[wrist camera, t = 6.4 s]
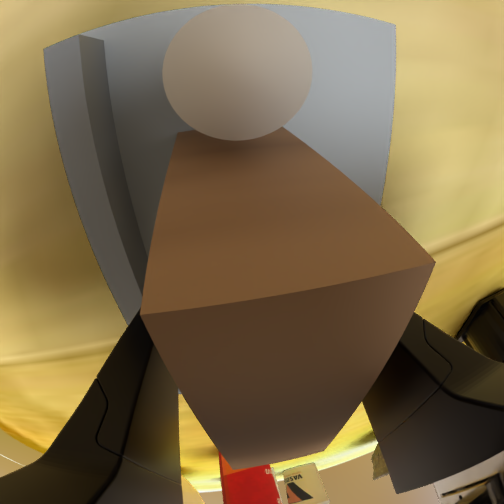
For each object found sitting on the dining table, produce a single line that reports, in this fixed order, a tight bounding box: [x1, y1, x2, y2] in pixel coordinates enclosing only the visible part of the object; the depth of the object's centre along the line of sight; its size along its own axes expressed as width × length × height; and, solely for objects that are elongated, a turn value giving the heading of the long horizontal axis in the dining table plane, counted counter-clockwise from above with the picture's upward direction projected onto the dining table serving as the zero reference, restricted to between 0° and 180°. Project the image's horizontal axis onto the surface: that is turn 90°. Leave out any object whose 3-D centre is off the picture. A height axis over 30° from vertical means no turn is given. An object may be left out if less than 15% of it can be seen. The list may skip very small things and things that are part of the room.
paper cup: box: [219, 452, 282, 504], centre depth 24 cm, size 8×8×14 cm
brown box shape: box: [140, 127, 436, 470], centre depth 8 cm, size 8×3×7 cm, turn 3°
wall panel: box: [44, 4, 396, 394], centre depth 9 cm, size 16×11×5 cm
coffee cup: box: [283, 463, 330, 504], centre depth 47 cm, size 9×9×12 cm
